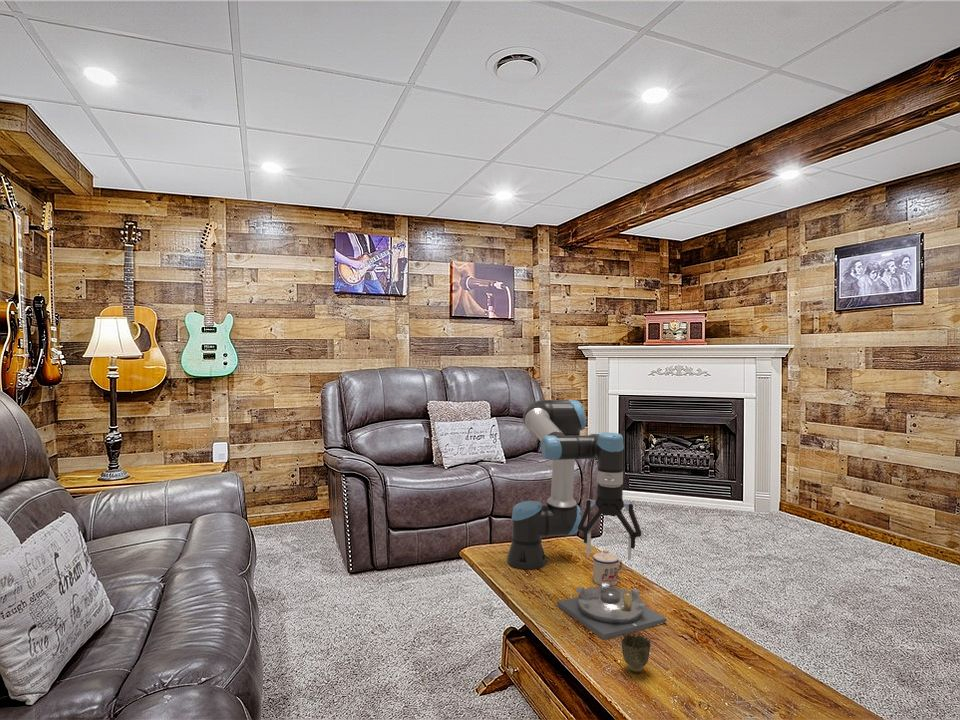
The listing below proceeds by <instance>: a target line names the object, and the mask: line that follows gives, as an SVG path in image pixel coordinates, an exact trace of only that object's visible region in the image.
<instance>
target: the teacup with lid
mask: <svg viewBox="0 0 960 720" xmlns="http://www.w3.org/2000/svg"><path fill="white" fill-rule="evenodd" d="M592 558H593V569H592V570H593V572H592V573H593V579H592V580H593V582H594V583H595V584H597V585H598V586H602V585H601V582H609V586H610V587H615V586H616V585H617V584H618V579H619V578H618V577H619V576H618V575H619V573H621V571H622V570H623V566H624V563H623V561H622V560H621V559H619V557H618V556H617V555H616V554H614V553H612V552H610V551H609V549H608V548H604V549H602V551H600V552H596V553H594V554H593V556H592Z"/></svg>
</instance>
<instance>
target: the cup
mask: <svg viewBox="0 0 960 720" xmlns="http://www.w3.org/2000/svg"><path fill="white" fill-rule="evenodd" d="M622 636H623V637H622V638H621V639H620V640H621V651H622V657H623V661H625V664H627V667H628V670H629V671H630V672H632V673H633V674H634V673H635V674H640V673H642V672H643V669H644V668H643V667H645V666H646V665H647V663H648V661H649V657H650V651H651V640H650V639H648V637H647V636H646V637H644V635H641V634H637V635H636V634H635V633H633V634H631V633H628V634H624V635H622Z"/></svg>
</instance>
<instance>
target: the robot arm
mask: <svg viewBox="0 0 960 720" xmlns="http://www.w3.org/2000/svg"><path fill="white" fill-rule="evenodd" d="M522 416H523V417H522V421H523V424H524V426H525V427H526V429H527V430H528V431H529V432H531V433H533V434H534V435H535V436H536V437H537V438H538V440H539V441H540V442H541V443H540V450H541V455H542V458H544V459H545V460H552V468H551V469H552V470H551V489H550V490H551V491H550V496H549V497H548V498H547V499H546V505H545V504H544V505H543V504H542V502H541V501H540V500H539V501H537V500H526V501H522V502H521V501H520V502H519V503H517V504H515V505H514V506H513V507H512V512H511V513H512V514H511V521H512V522H511V543H510V547H509V550H508V552H507V557H506V558H507V561H506V562H508V563H507V564H508V565H509V566H510V565H511V566H510V567H512V566H513V568H515V569H519V570H537V569H540V568H541V569H542V568H543V567H545V566H546V565H547V563H546V562H547V559H546V554H545V551H544V548H543V544H542V541H543V539H542V538H543V537H550V536H551V537H552V536H553V537H554V536H565V537H566V536H572V535H576V534H577V532H578V531H581V532H583V544H586V555H587V556H590V555H591V552H592V551H591V550H592V549H591V548H592V544H591V543H592V530H591V531H590V529H591V528H592V527H593V526H594V525H595V523H596V522H597V520H598V519H599V518H600V517H601V515H603V516H607V517H608V516H610V517H616V518H618V520H619V521H620V523H621V524H622V526H623V527H624V529H625V530H626V532H627V533H628V537H627V561H631V558H632V549H633V550H634V549H635V547H636V538H639V537H642V530H641V527H640V524H639V521H638V519H637V516H636V514H635V512H634V503H633V502H631V501H630V502H624V500H623V498H624V497H623V494H624V493H623V491H624V490H623V489H624V487H623V486H622V485H623V484H624V483H623V482H624V448H625V445H624V437H623V435H622V434H621V433H617V432H600V433H590V434H588V435H586V434H585V435H580V434H581V431H583V430H585V429H586V425H587V419H586V412H585V409H584V406H583V404H582V403H581V402H580V401H579V400H577V399H576V400H575V399H540V400H537V401H534V402H532V403H531V404H530V405H529V406H527V407H526V408H525V410H524V412H523V415H522ZM575 460H597V478H596V479H597V480H596V481H597V483H598V484H597V485H596V486H597V487H596V499H591V498H590V497H589V498H588V499H587V500H586V507H585V509H584V512H583V514H582V511H581V507H580V506H579V505H578V504H577V501H576V500H575V498H574V480H575V478H574V477H575ZM594 505H596V508H597V509H598V510H597V512H596V513H595V514H594V516H593V517H592V518H591V519H590V520H589V522H588V523H587V525H586V526H584V525H585V522H586V519H587V518H588V515H589V513H590V510H591V508H593V507H594ZM623 508H625V510H626V511H628V514H629V517H630V520H631V522H632V525H633V527H634V530H633V528H632V527H631V525H630V523H629V522H628V520H627V518H626V517H625V516H624V513H623V511H622V509H623ZM581 514H582V515H581Z"/></svg>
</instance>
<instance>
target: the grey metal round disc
mask: <svg viewBox="0 0 960 720" xmlns="http://www.w3.org/2000/svg"><path fill="white" fill-rule="evenodd" d="M575 591H576V593H578V596H577V597H578V608H579V610H580V611H581V612H582V613H583V614H584V615H586V616H587V617H589V618H591V619H594V620H597V621H600V622H605V623H612V624H625V623H631V622H634V621H637V620H639V619H640V618H641V617H642V615H643V610H644V609H645V608H646V607H647V603H645V602H643V599H642V597H640V596H639V595H641V591H640V590H638V589H637V588H632V589H630V590H628V589H624V588H620V587H617V586H609V582H601V585H598V586H591V587H587V588H585V587H583V586H580V585H579V586H578V587H576V589H575Z"/></svg>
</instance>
